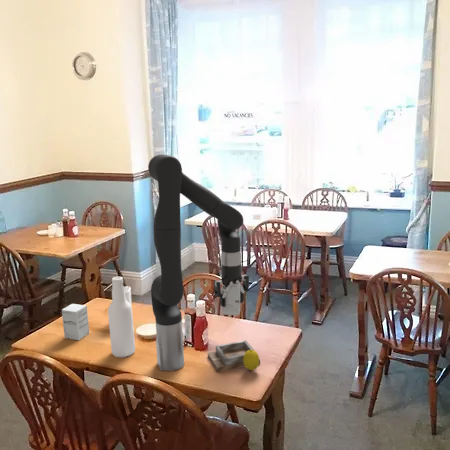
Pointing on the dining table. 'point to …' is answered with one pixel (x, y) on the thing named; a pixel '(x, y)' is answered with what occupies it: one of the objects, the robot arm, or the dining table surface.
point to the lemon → (251, 359)
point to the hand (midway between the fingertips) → (232, 304)
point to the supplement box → (75, 321)
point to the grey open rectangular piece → (229, 355)
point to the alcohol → (121, 321)
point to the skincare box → (232, 300)
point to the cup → (126, 294)
